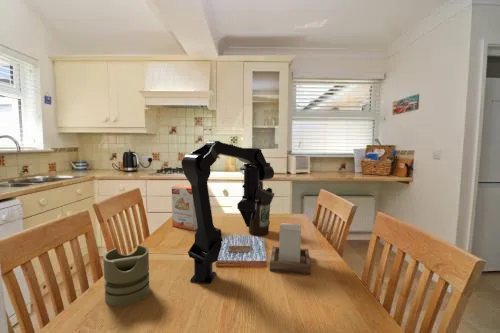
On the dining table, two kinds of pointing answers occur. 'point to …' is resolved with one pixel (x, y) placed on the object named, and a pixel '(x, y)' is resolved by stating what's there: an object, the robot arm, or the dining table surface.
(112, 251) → the green divided utensil holder
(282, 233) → the supplement box
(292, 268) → the holder tray
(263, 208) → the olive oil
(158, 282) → the dining table surface
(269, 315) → the dining table surface
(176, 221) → the cracker box
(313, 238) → the dining table surface
